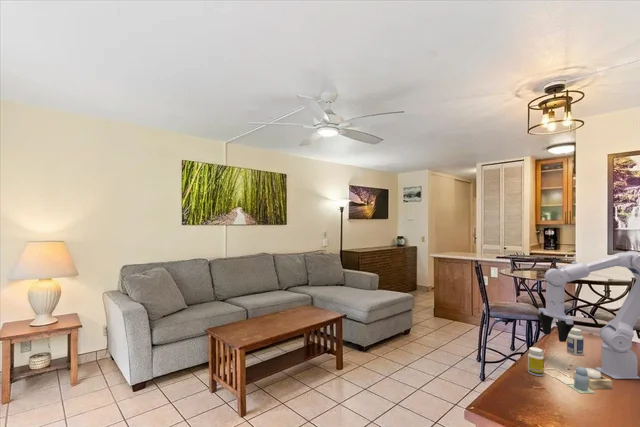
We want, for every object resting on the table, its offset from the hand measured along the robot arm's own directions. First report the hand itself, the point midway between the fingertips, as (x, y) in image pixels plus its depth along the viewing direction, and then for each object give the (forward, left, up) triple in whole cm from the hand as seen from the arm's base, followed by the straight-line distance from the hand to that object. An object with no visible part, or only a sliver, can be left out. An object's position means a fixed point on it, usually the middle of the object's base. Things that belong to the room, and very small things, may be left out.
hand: (554, 337), depth 125 cm
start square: (+6, +7, -10) cm, 13 cm away
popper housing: (-1, +15, -10) cm, 18 cm away
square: (+6, +13, -10) cm, 17 cm away
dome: (-2, +14, -9) cm, 17 cm away
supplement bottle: (+13, +7, -10) cm, 18 cm away
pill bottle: (-17, -10, -10) cm, 22 cm away
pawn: (+6, +18, -10) cm, 21 cm away
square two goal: (+6, +18, -10) cm, 21 cm away
